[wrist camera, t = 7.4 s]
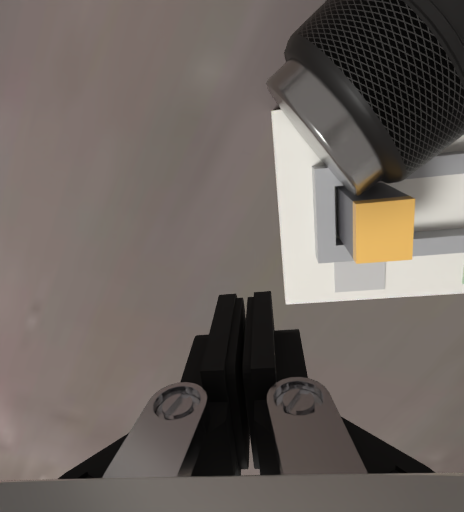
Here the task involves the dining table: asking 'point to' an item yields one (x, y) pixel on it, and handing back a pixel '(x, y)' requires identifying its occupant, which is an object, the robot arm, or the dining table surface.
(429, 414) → the dining table surface
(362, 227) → the breaker lever
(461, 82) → the muzzle brake
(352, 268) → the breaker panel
